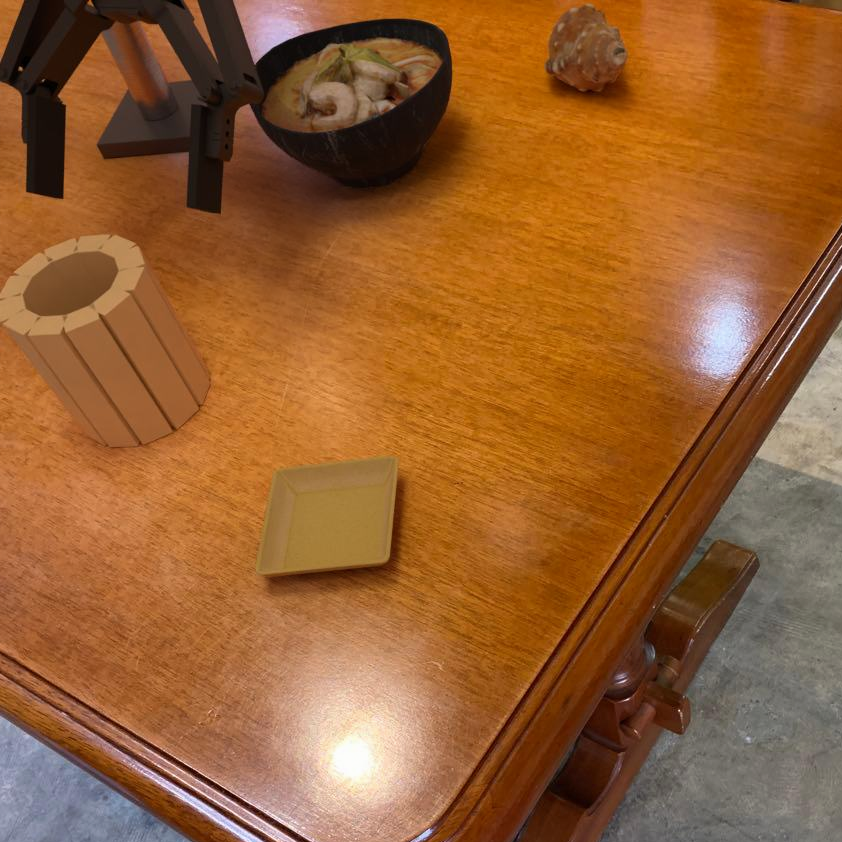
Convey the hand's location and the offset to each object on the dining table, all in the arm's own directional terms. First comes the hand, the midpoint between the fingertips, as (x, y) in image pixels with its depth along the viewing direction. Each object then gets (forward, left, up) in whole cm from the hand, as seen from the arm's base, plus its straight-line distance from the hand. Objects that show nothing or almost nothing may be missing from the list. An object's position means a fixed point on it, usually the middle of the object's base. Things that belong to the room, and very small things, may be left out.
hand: (122, 203), depth 72 cm
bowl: (+11, +21, -12) cm, 27 cm away
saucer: (+16, -20, -12) cm, 28 cm away
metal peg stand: (-12, +30, -12) cm, 34 cm away
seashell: (+30, +31, -12) cm, 45 cm away
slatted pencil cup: (-2, -7, -12) cm, 14 cm away
